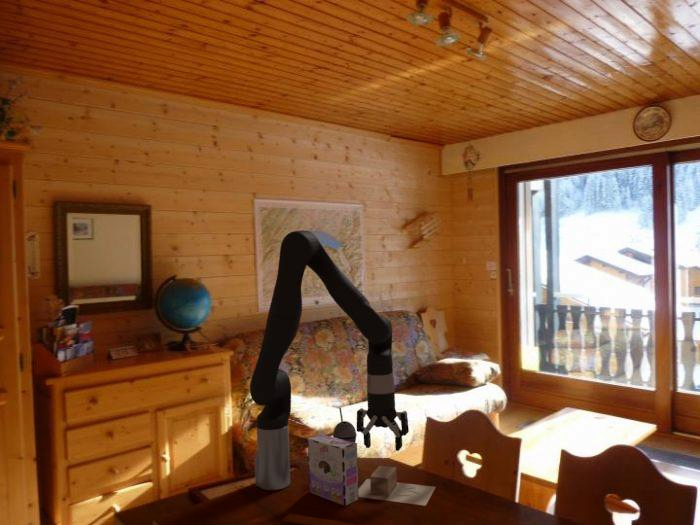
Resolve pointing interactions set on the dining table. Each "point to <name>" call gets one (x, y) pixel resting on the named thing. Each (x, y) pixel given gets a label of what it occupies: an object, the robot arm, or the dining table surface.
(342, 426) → the beverage cup
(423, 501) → the board
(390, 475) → the block
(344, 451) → the candy box
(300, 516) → the dining table surface
